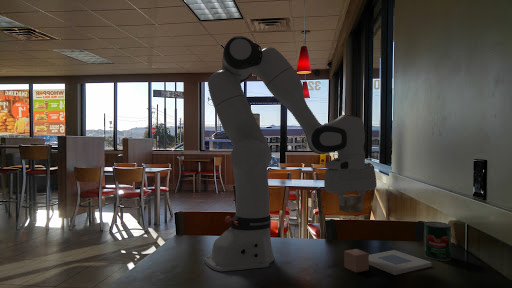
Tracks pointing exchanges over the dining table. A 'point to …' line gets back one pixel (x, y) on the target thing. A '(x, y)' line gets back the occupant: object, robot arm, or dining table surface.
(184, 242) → the dining table surface
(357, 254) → the terracotta block
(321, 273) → the dining table surface
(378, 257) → the white flat square slab
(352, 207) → the birch block
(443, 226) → the canned tomato
